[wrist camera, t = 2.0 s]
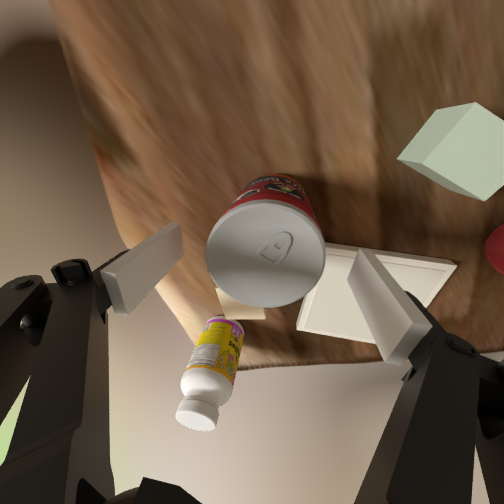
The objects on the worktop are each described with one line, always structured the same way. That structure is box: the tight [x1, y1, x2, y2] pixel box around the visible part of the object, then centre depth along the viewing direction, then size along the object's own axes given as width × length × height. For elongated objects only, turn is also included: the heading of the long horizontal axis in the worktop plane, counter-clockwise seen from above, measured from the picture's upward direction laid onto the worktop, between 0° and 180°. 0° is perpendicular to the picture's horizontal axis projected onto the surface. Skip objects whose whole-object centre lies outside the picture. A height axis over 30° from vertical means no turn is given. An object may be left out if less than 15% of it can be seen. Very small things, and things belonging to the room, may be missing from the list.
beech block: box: [216, 286, 267, 319], centre depth 25 cm, size 5×5×5 cm
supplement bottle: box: [176, 316, 244, 431], centre depth 27 cm, size 7×7×13 cm
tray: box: [296, 242, 457, 344], centre depth 25 cm, size 14×14×1 cm
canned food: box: [205, 174, 326, 308], centre depth 17 cm, size 8×8×11 cm
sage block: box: [397, 102, 504, 201], centre depth 16 cm, size 4×6×4 cm, turn 64°
